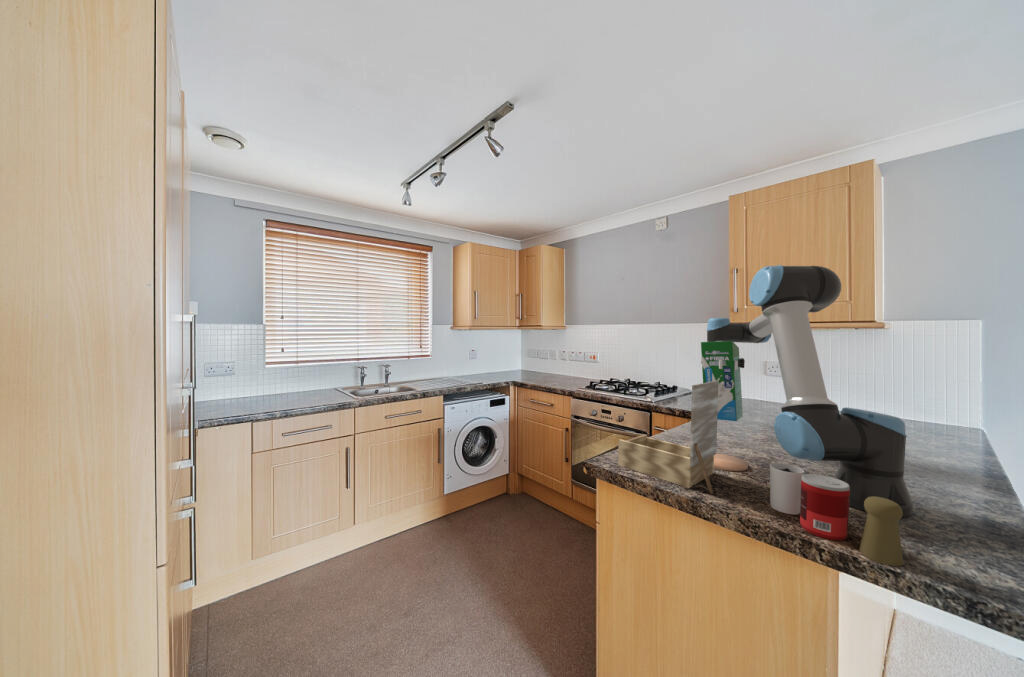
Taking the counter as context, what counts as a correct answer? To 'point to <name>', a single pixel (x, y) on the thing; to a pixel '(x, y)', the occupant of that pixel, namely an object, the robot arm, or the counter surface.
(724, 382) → the milk carton
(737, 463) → the peach round coaster
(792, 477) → the white cylindrical container
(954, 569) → the counter surface
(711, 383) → the cold frame
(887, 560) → the cork
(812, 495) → the canned food
